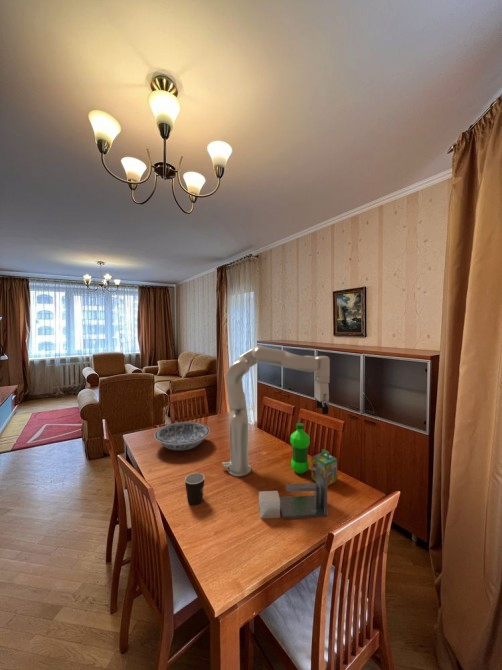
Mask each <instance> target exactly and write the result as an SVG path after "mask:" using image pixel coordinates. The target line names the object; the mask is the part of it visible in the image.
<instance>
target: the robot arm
mask: <svg viewBox="0 0 502 670" xmlns="http://www.w3.org/2000/svg"><path fill="white" fill-rule="evenodd" d="M330 360H331V359H330V357H329V356H327V355H317V356H315V355H299V354H295V353H291V352H290V351H287V350H283V349H276V348H272V347H271V348H270V347H265V346H263V345H256V346H254V347H251V348H250V350H248V351H246V352H245V353H243V354H241V355H240V356H238V357H237V358H236V359H235V361H234V363H232V364H231V365H230V367H228V369H227V372H226V375H225V383H226V384H225V385H226V394H227V395H226V396H227V404H228V405H229V413H230V414H229V415H230V417H229V450H230V451H229V452H230V454H229V455H230V458H229V461H226V462H225V461H224V462H223V461H222V462H221V466H222V467H223V468H224V469H227V472H228V474H229V475H231V476H234V477H244V476H247V475H249V474H250V473H251V472H252V466H251V465H250V464H249V417H248V409H247V402H246V401H247V400H246V394H245V391H244V387H243V378H244V376H245V375H247V374H248V373H249V371H250V369H251V367H253V366H255V365H256V364H258V363H261V364H266V365H267V364H268V365H272V366H277V367H282V368H287V369H292V370H296V371H301V372H305V373H306V372H308V373H313V372H314V383H315V385H314V398H315V399H316V402H315V404H316V406H315V407H316V409H321V414H322V415H328V414H329V404H330V403H329V402H330V391H329V390H330V389H329V383H330V374H331V373H330V369H331V368H330V367H331V366H330V363H331V361H330Z"/></svg>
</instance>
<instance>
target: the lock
mask: <svg viewBox="0 0 502 670" xmlns="http://www.w3.org/2000/svg"><path fill="white" fill-rule="evenodd" d="M279 497H280V494H279V492H278V490H264V491H262V490H261V491H258V509H259V519H278V518H279V519H280V518H281V508H280V498H279Z"/></svg>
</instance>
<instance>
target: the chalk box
mask: <svg viewBox="0 0 502 670" xmlns="http://www.w3.org/2000/svg"><path fill="white" fill-rule="evenodd" d="M316 467H319V469H320V471H321V473H322V474H323V476H324V478H325V480H326V481H327V487H329V486H330V485H332V484H334V483H336V482H337V481H338V458H336V457H335V456H333V455H331V454H330V451H328V450H326V449H323V448H322V449H321V452H320V453H318V454H315V455H312V456H311V471H310V472H311V475H310V476H311V477H310V478H311V480H313V481H314V482H316Z"/></svg>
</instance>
